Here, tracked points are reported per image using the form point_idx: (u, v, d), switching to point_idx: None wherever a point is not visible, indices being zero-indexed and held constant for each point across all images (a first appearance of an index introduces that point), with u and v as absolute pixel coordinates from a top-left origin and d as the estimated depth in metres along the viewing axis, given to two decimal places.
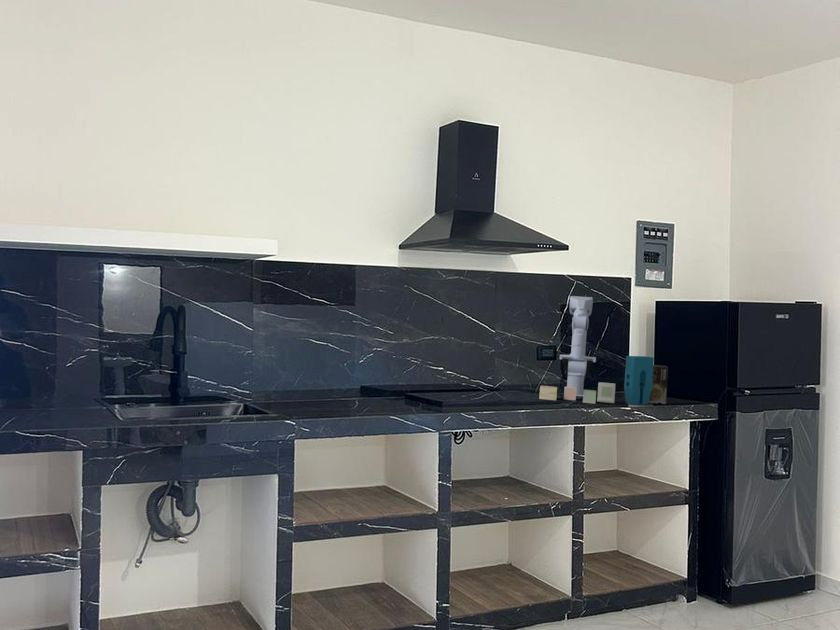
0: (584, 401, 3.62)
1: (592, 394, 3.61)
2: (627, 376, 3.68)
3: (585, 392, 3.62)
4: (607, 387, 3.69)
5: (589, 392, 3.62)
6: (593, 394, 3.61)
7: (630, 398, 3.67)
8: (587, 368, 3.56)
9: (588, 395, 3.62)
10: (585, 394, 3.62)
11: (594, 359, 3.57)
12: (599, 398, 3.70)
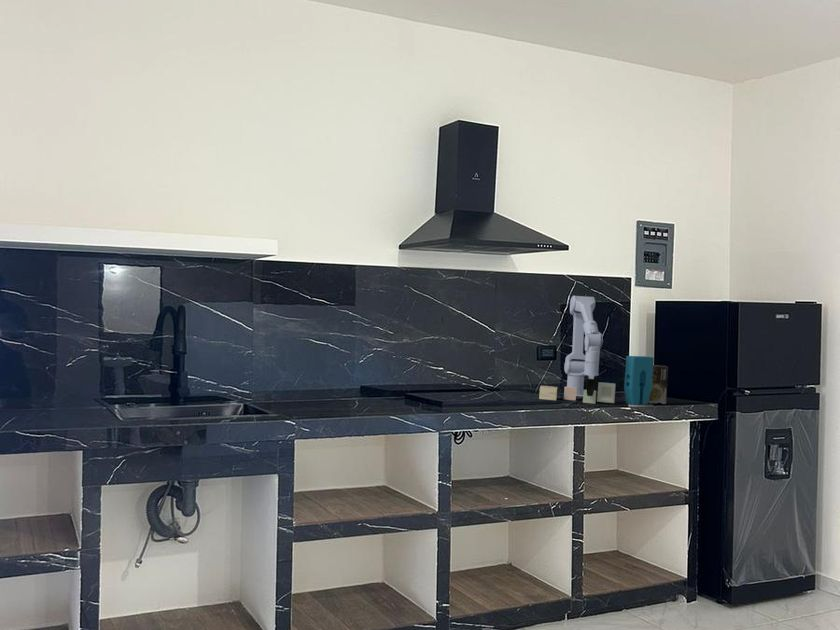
0: (584, 401, 3.62)
1: None
2: (627, 376, 3.68)
3: (585, 392, 3.62)
4: (607, 387, 3.69)
5: None
6: (593, 394, 3.61)
7: (630, 398, 3.67)
8: None
9: None
10: (585, 394, 3.62)
11: None
12: (599, 398, 3.70)
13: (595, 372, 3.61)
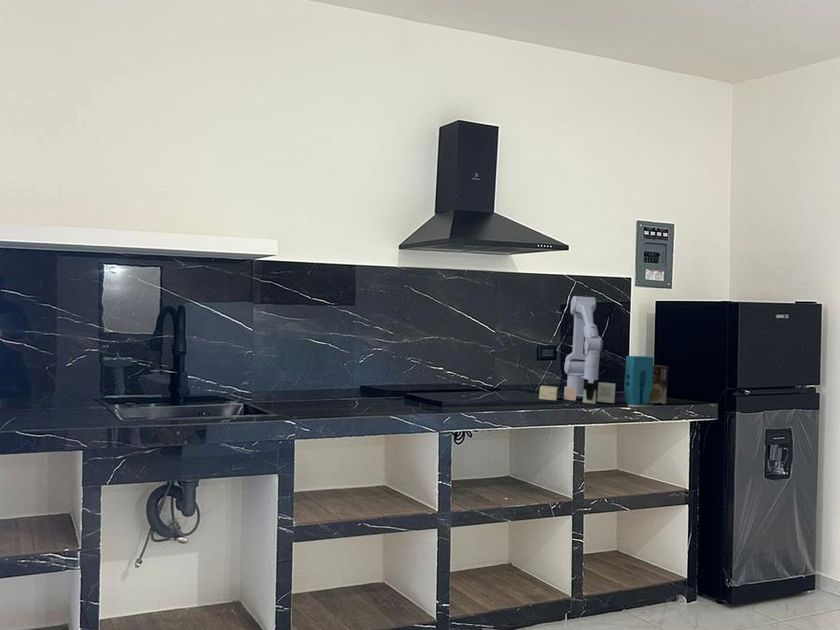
0: (584, 401, 3.62)
1: None
2: (627, 376, 3.68)
3: (585, 392, 3.62)
4: (607, 387, 3.69)
5: None
6: None
7: (630, 398, 3.67)
8: None
9: None
10: (585, 394, 3.62)
11: (588, 380, 3.57)
12: (599, 398, 3.70)
13: (595, 376, 3.61)
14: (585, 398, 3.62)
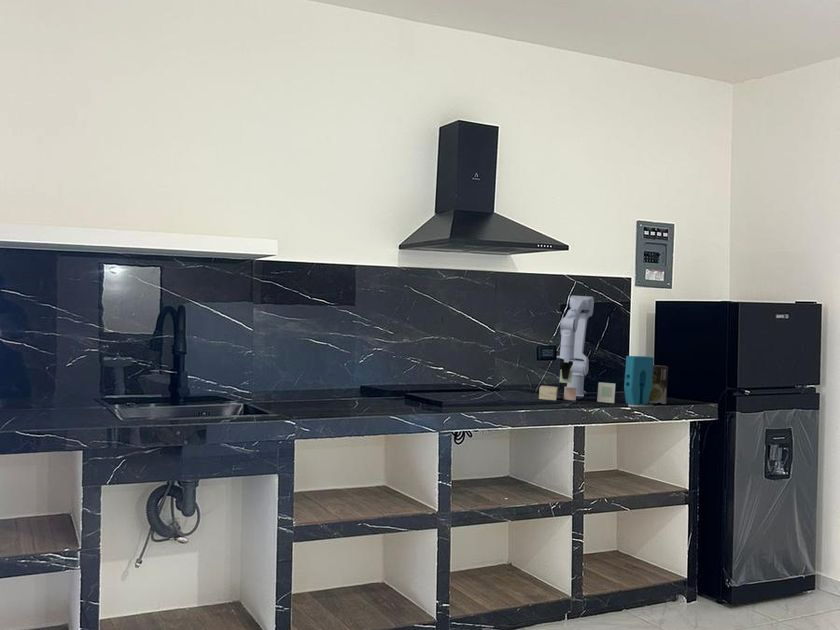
0: (560, 380, 3.64)
1: None
2: (627, 376, 3.68)
3: (561, 372, 3.64)
4: (607, 387, 3.69)
5: None
6: (569, 374, 3.63)
7: (630, 398, 3.67)
8: (561, 367, 3.63)
9: None
10: (561, 374, 3.64)
11: (564, 359, 3.60)
12: (599, 398, 3.70)
13: (570, 356, 3.63)
14: (561, 378, 3.64)
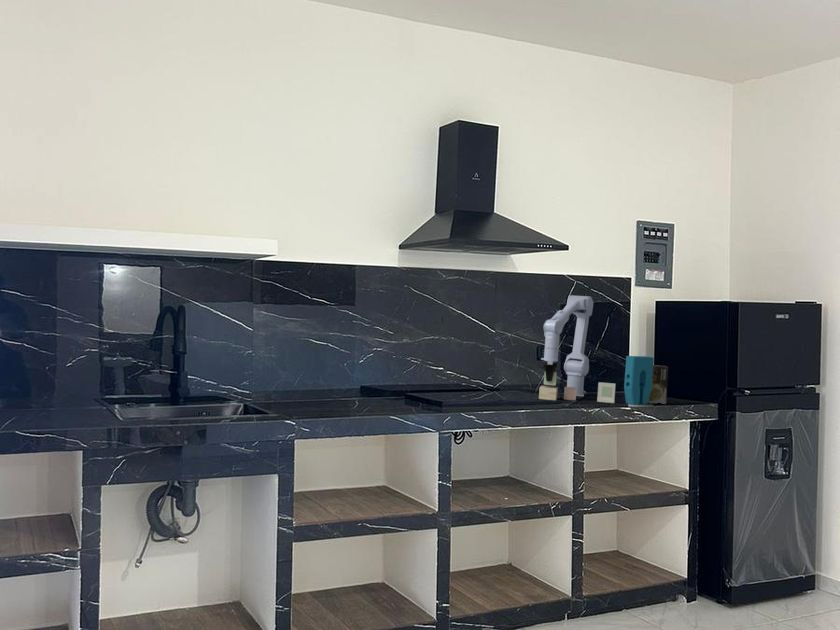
0: (545, 383, 3.66)
1: None
2: (627, 376, 3.68)
3: None
4: (607, 387, 3.69)
5: None
6: (553, 376, 3.65)
7: (630, 398, 3.67)
8: (545, 370, 3.65)
9: None
10: None
11: None
12: (599, 398, 3.70)
13: (554, 358, 3.65)
14: None
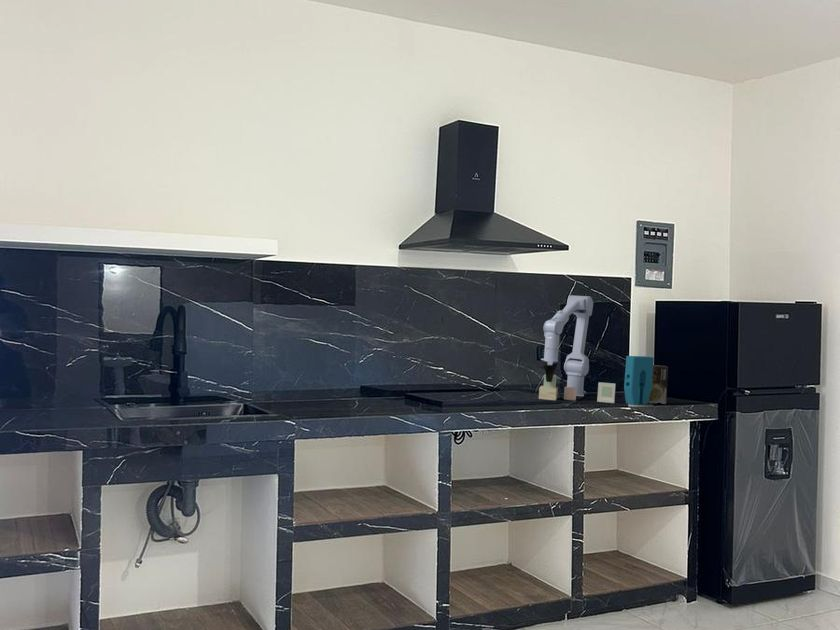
0: (544, 385, 3.66)
1: (552, 379, 3.65)
2: (627, 376, 3.68)
3: (545, 377, 3.66)
4: (607, 387, 3.69)
5: None
6: (553, 379, 3.65)
7: (630, 398, 3.67)
8: (545, 370, 3.64)
9: None
10: (545, 379, 3.66)
11: None
12: (599, 398, 3.70)
13: (554, 358, 3.65)
14: (545, 383, 3.66)
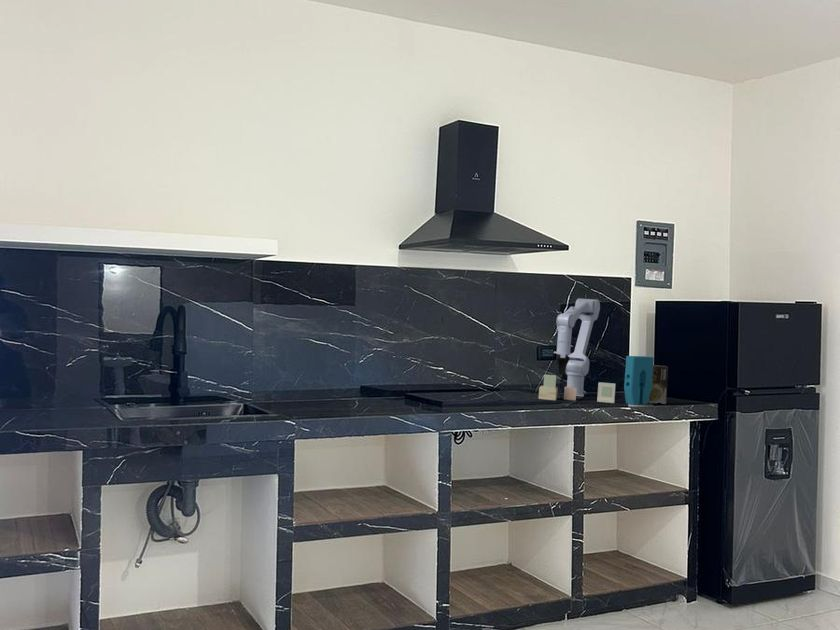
0: (544, 386, 3.65)
1: (552, 379, 3.65)
2: (627, 376, 3.68)
3: (545, 377, 3.65)
4: (607, 387, 3.69)
5: (549, 377, 3.65)
6: (553, 379, 3.65)
7: (630, 398, 3.67)
8: None
9: (548, 380, 3.65)
10: (545, 379, 3.65)
11: None
12: (599, 398, 3.70)
13: (567, 351, 3.70)
14: (545, 383, 3.65)
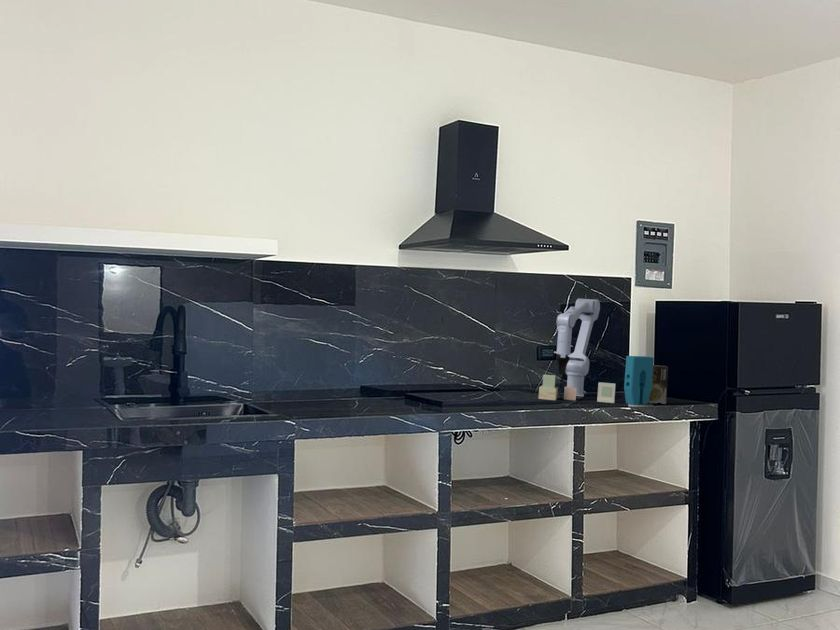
0: (543, 386, 3.66)
1: (551, 379, 3.65)
2: (627, 376, 3.68)
3: (544, 377, 3.66)
4: (607, 387, 3.69)
5: (548, 377, 3.65)
6: (552, 379, 3.65)
7: (630, 398, 3.67)
8: None
9: (547, 380, 3.65)
10: (544, 379, 3.66)
11: (560, 354, 3.66)
12: (599, 398, 3.70)
13: (567, 351, 3.70)
14: (544, 383, 3.66)
